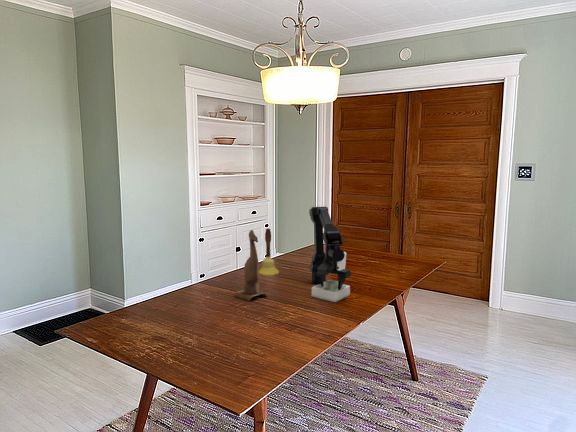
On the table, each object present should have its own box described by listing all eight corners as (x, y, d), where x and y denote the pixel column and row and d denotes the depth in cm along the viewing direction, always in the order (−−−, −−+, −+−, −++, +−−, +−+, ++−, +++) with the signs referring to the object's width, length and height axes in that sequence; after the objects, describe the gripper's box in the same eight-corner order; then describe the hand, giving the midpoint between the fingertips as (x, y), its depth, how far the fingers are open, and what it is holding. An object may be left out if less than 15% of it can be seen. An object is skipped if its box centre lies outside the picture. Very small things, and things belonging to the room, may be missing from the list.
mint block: (323, 294, 204) (323, 282, 203) (329, 291, 208) (329, 279, 207) (332, 296, 201) (332, 284, 200) (338, 293, 205) (338, 281, 204)
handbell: (283, 273, 243) (283, 229, 239) (264, 276, 236) (264, 231, 232) (271, 268, 253) (271, 226, 249) (253, 271, 246) (252, 228, 242)
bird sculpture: (250, 303, 196) (252, 234, 190) (233, 296, 203) (234, 229, 198) (268, 297, 204) (270, 230, 199) (251, 291, 212) (252, 227, 206)
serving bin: (311, 296, 204) (311, 287, 203) (327, 289, 214) (327, 280, 213) (334, 302, 196) (335, 292, 195) (349, 295, 206) (350, 286, 205)
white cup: (345, 271, 245) (345, 254, 244) (331, 271, 247) (331, 253, 246) (346, 268, 253) (346, 251, 252) (333, 267, 255) (333, 250, 253)
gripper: (305, 256, 202) (304, 288, 204) (339, 263, 190) (338, 297, 192) (318, 252, 210) (318, 283, 212) (352, 258, 199) (351, 291, 201)
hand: (330, 288), depth 204 cm, fingers open, 9 cm apart
